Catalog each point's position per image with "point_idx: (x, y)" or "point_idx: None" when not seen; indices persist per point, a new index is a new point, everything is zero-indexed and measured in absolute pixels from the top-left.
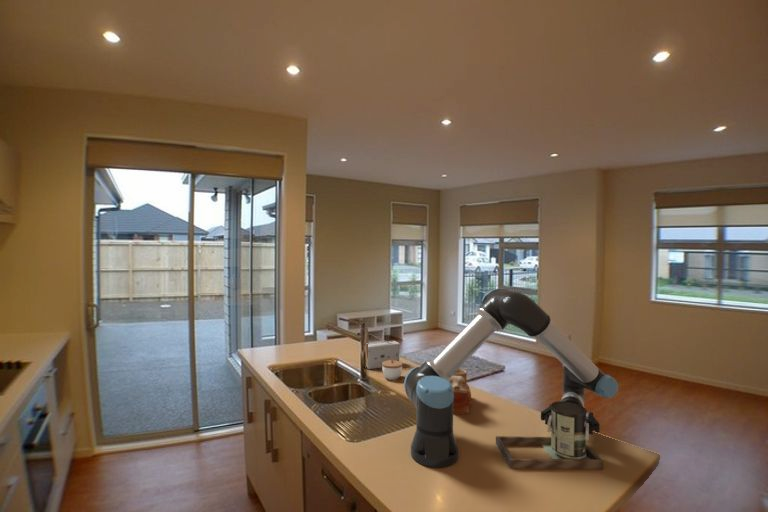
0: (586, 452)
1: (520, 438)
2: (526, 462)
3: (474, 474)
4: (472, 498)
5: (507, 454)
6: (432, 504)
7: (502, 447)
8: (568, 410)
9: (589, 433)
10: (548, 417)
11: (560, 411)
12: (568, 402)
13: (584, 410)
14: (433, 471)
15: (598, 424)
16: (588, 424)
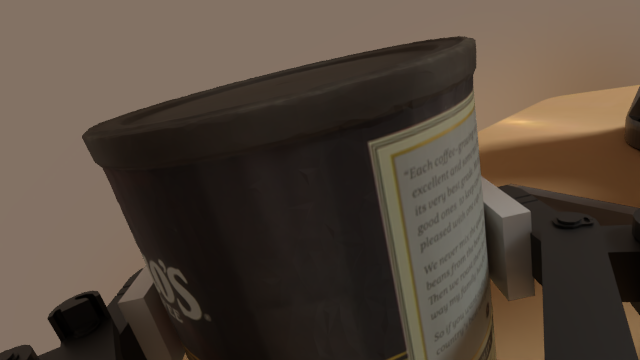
0: None
1: None
2: None
3: (549, 159)
4: (479, 141)
5: (549, 192)
6: (510, 117)
7: (621, 206)
8: (282, 79)
9: None
10: (536, 222)
11: (335, 59)
12: (280, 99)
13: (129, 114)
14: (618, 126)
15: (2, 353)
16: (135, 282)
